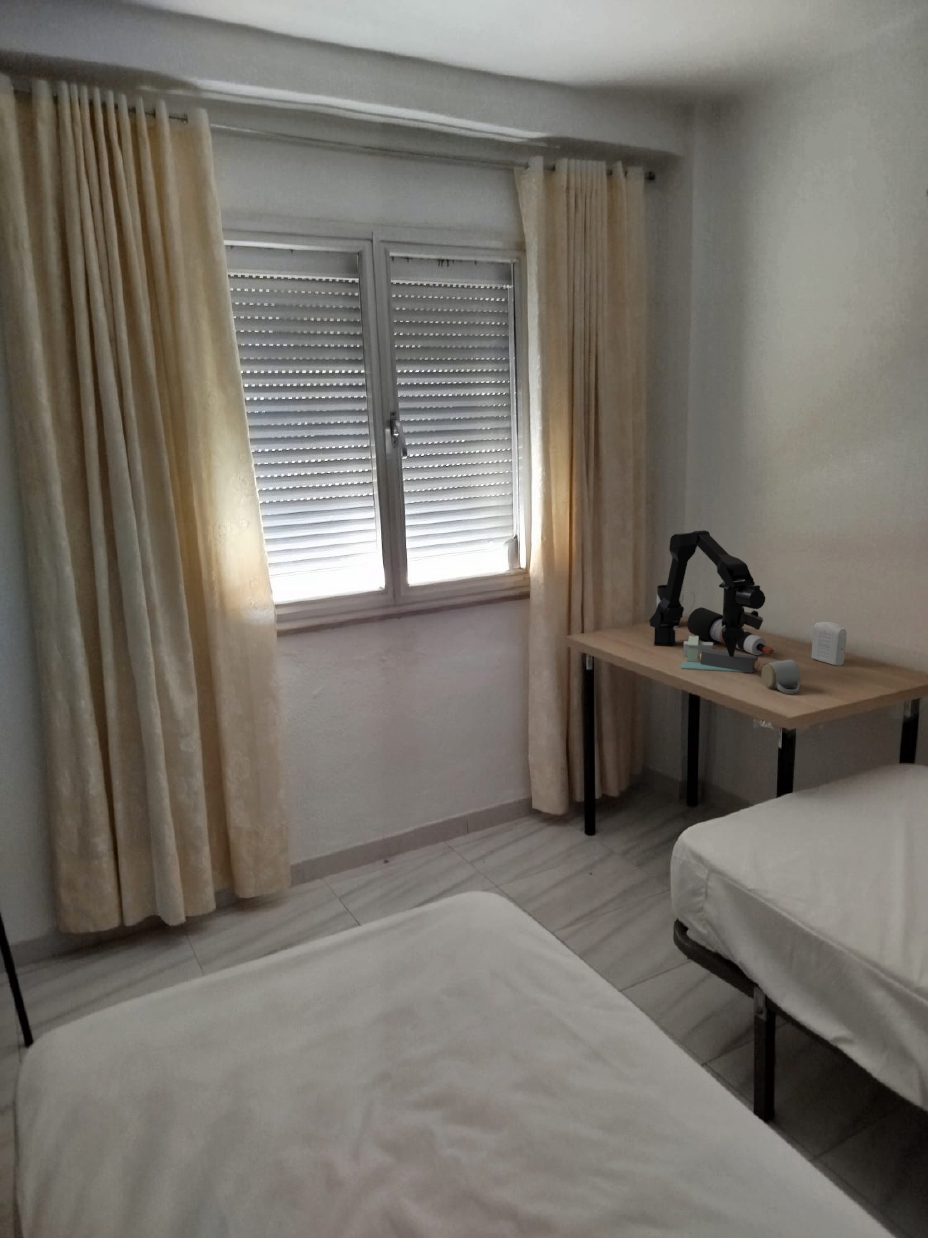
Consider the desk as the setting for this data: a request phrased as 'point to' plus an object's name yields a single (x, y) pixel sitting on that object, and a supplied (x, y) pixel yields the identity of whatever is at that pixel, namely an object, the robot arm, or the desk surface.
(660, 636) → the robot arm
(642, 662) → the desk surface
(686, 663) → the mat
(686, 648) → the block
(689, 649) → the light grey piece
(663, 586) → the glass holder
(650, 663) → the desk surface
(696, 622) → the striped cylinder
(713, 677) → the desk surface
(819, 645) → the photo printer
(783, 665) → the ceramic mug
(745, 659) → the dark gray bar
